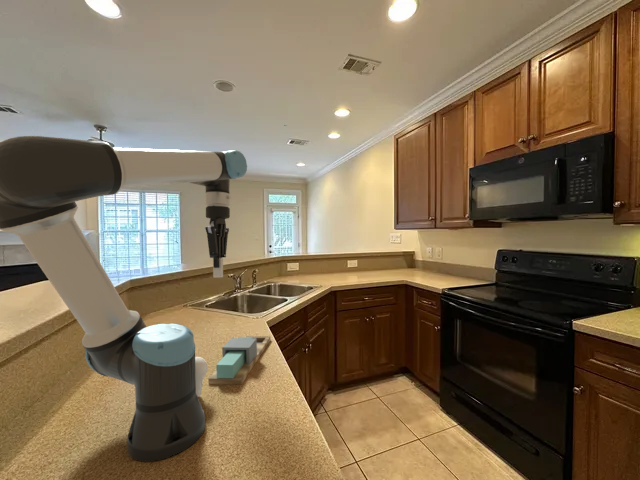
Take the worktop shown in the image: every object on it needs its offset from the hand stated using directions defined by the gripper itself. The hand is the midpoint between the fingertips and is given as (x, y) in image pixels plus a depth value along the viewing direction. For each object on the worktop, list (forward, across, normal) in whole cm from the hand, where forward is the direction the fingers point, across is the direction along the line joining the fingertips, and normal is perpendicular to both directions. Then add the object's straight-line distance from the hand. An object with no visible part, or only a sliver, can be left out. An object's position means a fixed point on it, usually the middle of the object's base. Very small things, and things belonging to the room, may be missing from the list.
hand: (218, 277), depth 94 cm
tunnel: (+28, +3, -6) cm, 29 cm away
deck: (+30, +7, -6) cm, 31 cm away
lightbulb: (+31, -17, -2) cm, 35 cm away
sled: (+28, -1, -6) cm, 29 cm away
